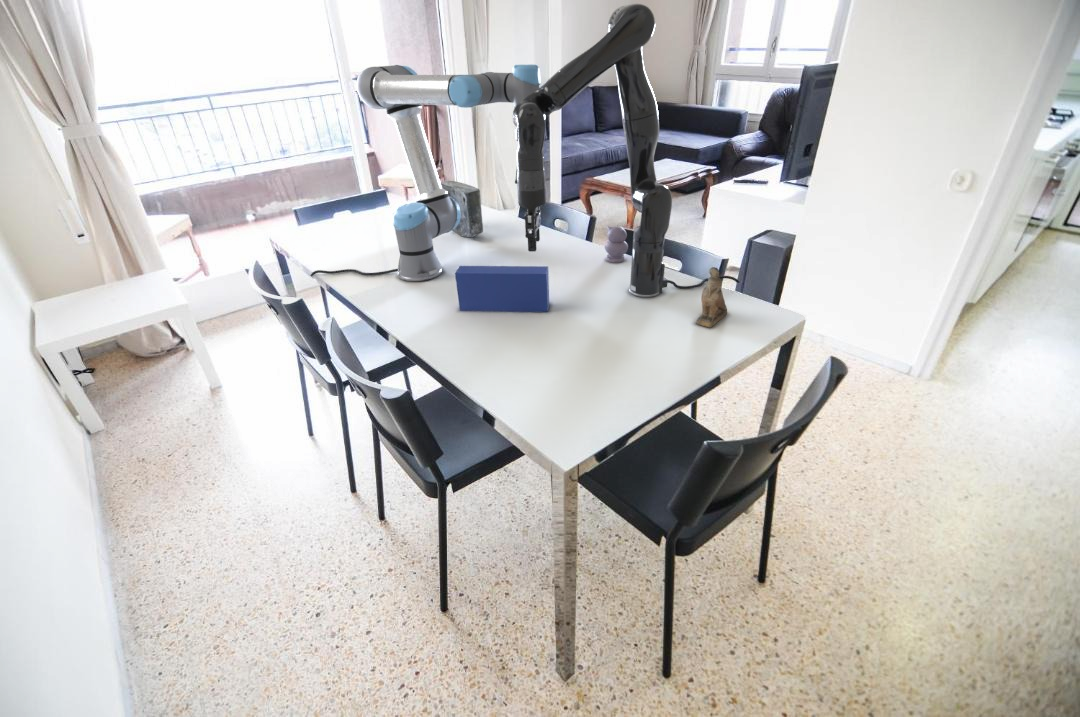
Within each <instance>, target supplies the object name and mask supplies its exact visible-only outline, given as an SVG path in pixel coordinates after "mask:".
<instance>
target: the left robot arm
mask: <svg viewBox="0 0 1080 717" xmlns="http://www.w3.org/2000/svg"><path fill="white" fill-rule="evenodd" d="M540 71H541V70H540V67H539V66H538V64H532V63H531V64H515V65H513V66H512V72H495V71H494V72H493V71H486V72H481V73H477V74H418V73H417V72H416V71H415V70H414V69H413V68H411V67H410V66H407V65H401V64H394V65H383V66H370V67H366V68H365V69H362V71H361V72H360V73H359V75H358V76H357V79H356V91H357V94H358V96H359V98H360V100H361V102H363V103H364V104H365V105H366V106H367V107H370V108H371V109H375V110H385V112H386V116H387V117H388V118H390V119H391V120H392V121H393V122H394V125H395V128H396V131H397V134H398V137H399V140H400V143H401V146H402V149H403V152H404V155H405V158H406V161H407V164H408V167H409V170H410V173H411V176H412V180H413V182H414V185H415V189H416V192H417V196H416V199H415V202H409V203H406V204H403V205H400V206H398V207H397V208H396V209H395V210H394V211H393V213H392V219H393V223H392V224H393V227H394V230H395V231H394V232H395V236H396V242H397V247H398V251H399V259H398V265H397V268H393V269H388V270H384V271H376V272H364V271H360V270H358V269H354V268H346V269H338V270H323V269H322V270H321V269H319V270H318V269H317V270H314V271H312V272H311V273H310V277H314V276H315V275H316V274H327V275H334V274H342V273H356V274H359V275H361V276H380V275H386V274H391V273H396V272H397V276H398V278H399V279H400V280H402V281H406V282H413V283H414V282H425V281H429V280H432V279H435V278H438V277H439V276H440V275H441V274H442V273H443V268H442V264H441V263H440V260H439V259H438V256H437V254H436V252H435V250H434V243H433V239H435V238H438V237H440V236H442V235H444V234H448V233H450V232H451V231H452V229H454V228H456V227H457V225H458V223H459V221H460V217H461V212H460V208H459V205H458V203H457V202H456V201H454V199H453V198H451V197H449V194H448V191H446V190H444V189H443V188H442V186H441V183H440V182H441V180H440V178H439V177H440V176H439V174H438V171H437V170H438V169H437V166H436V163H435V160H434V158H433V154H432V151H431V148H430V144H429V141H428V138H427V134H426V131H425V128H424V125H423V122H422V118H421V111H422V109H423V106H457V107H459V108H466V109H467V108H473V107H477V106H484V105H490V104H497V103H513V108H515V107H516V105H517V104H518V103H519V102H520V101H522V100H523V99H524V98H525V97H527V96H528V95H530V94H531V93H532V92H534V91H535V90H537V89H538V88H540V87H541V86H542V85H541V84H542V81H541V72H540ZM514 134H515V141H517V142H519V136H518V128H517V127H516V126H515V128H514ZM514 184H516V185H517V169H516V172H515V179H514ZM518 207H521V206H520V205H519V204H518Z"/></svg>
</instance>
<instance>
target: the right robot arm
mask: <svg viewBox="0 0 1080 717" xmlns="http://www.w3.org/2000/svg"><path fill="white" fill-rule="evenodd" d="M655 28H656V18H655V15H654V13H653V11H652V10H651V8H649V6H648V5H645V4H642V3H630V4H624V5H621V6H619V7H617V8H615V10H614V11H613V12H612V13H611V15H610V17H609V18H608V22H607V32H606V34H605V35H604V36H603V37H602V38H600V40H598V41H597V42H596V43H595V44H594V45H592V46H591V47H589V48H588V49H587V50H585V51H584V52H582V53H580V54H579V55H578V56H576V57H575V58H573V59H571V60H570V61H569V62H567V63H566V64H564V65H563V66H562V67H561V68H560V69H559V70H557V71H556V72H555V73H554V74H553V75H552V76H551V77H549V78H548V79H547V80H546V81H545V82H544V83H543V85H540V88H538V89H537V90H535V91H534V92H532V93H531V94H530V95H528V96H527V97H525V98H524V99H523V100H522V101H520V102H519V103H518V104H517V105H516V107H513V108H514V109H513V111H512V115H511V116H512V118H511V119H512V123H513V126H514V127H515V128H516V127H517V128H518V136H519V141H518V146H517V147H516V170H517V184H516V185H517V188H516V189H517V203H518V206H519V205H520V206H519V207H521V208H525V209H526V210H525V212H524V228H525V229H524V230H525V238H526V239H527V251H528V252H536V251H537V242H540V240H541V235H540V227H541V222H542V218H541V216H542V210H541V207H543V206H545V205H546V204H547V182H546V172H545V153H544V146H545V140H546V130H547V128H546V127H547V125H546V118H548V117H549V116H550V115H551V114H552V113H554V112H557V111H560V110H561V109H563V108H564V107H566V106H567V105H569V103H570V102H572V101H573V100H574V99H575V98H576V97H577V96H578V95H579V94H581V92H583V91H584V90H586V88H587V87H589V85H591V84H592V83H593V82H594V81H595V80H597V79H598V78H599V77H600V76H602V75H603V74H604V73H605V72H606V71H608V70H610V68H612V67H613V66H614V68H615V73H616V79H617V90H618V96H619V97H618V98H619V104H620V112H621V119H622V120H621V121H622V127H623V133H624V134H623V135H624V139H625V146H626V154H627V160H628V165H629V180H630V199H631V204H632V206H633V207H634V209H635V210H636V211H637V212H639V213H640V214H641V216H640V222H639V225H637V226H636V227H635V228H634V229H633V236H632V251H631V264H630V265H631V266H630V281H629V293H630V294H631V295H633V296H635V297H639V298H653V297H656V296H658V295H659V294H663V289H665V288H668V284H671V285H673V287H674V288H676V289H680V290H681V289H682V290H689V289H695V288H700V287H702V286H703V285H704V284H705V283H706V282H708V279H709V278H710V277H706V278H704V279H702V281H701V282H700V283H697V284H693V285H678V284H677V283H676V282H674V281H673V280H670V279H668V278H666V277H665V269H666V267H665V266H666V264H665V263H664V262H663V261H664V250H665V240H666V234H667V233H668V230H669V227H670V222H671V215H672V208H673V194H672V192H671V190H670V188H669V187H668V186H666V185H664V184H662V183H659V182H658V180H657V175H656V168H655V153H656V149H657V145H658V141H659V136H660V121H659V120H660V119H659V110H658V104H657V101H656V97H655V94H654V91H653V88H652V86H651V84H650V81H649V79H648V76H647V73H646V70H645V65H644V59H643V58H644V57H643V47H645V46H646V45H647V44H648V43H649V42H650V41H651V40H652V38H653V35H654V32H655ZM530 231H531V232H530ZM719 278H720V279H721V280H722V279H729V280H732V281H735V283H736V284H740V283H741V282H740V280H739V279H738V278H736V277H734V276H731V275H719Z"/></svg>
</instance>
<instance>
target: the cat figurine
mask: <svg viewBox="0 0 1080 717" xmlns="http://www.w3.org/2000/svg"><path fill="white" fill-rule="evenodd" d="M606 228H607V229H606V230H607V234H606V237H607V241H606V243H605V244H604V250H605V252H606V253H607V255H606V262H609V263H613V264H615V263H616V264H617V263H622V262H624V261H625V254H626V253H627V252H628V250H629V244H628V243H627V242H626V239H627V237H628V234H627V231H626V230H625V229H624V228H623V227H622V226H609V225H606Z"/></svg>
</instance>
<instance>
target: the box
mask: <svg viewBox="0 0 1080 717" xmlns="http://www.w3.org/2000/svg"><path fill="white" fill-rule="evenodd" d="M454 276H455V285H456V290H457V292H456V293H457V298H458V306H459V311H460V312H513V313H514V312H515V313H516V312H518V313H548V311H549V307H550V283H549V282H550V279H549V278H550V276H549V266H548V265H547V266H546V265H545V266H544V265H543V266H542V265H541V266H540V265H539V266H537V265H530V266H529V265H459V266H458V268H457V270H456V271H455V273H454Z"/></svg>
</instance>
